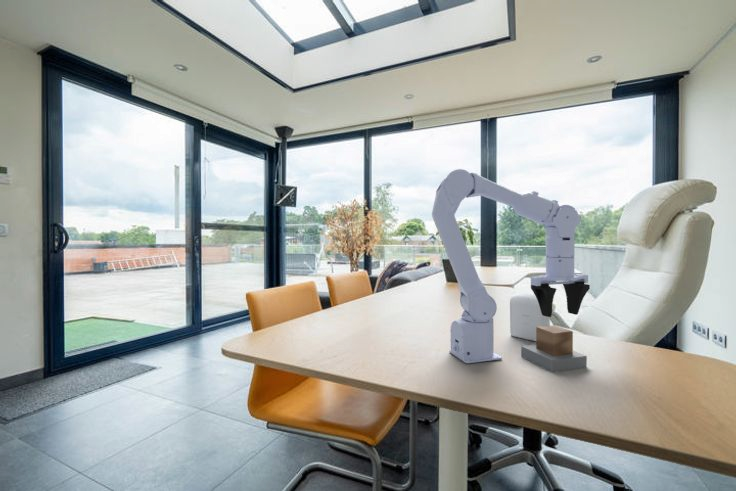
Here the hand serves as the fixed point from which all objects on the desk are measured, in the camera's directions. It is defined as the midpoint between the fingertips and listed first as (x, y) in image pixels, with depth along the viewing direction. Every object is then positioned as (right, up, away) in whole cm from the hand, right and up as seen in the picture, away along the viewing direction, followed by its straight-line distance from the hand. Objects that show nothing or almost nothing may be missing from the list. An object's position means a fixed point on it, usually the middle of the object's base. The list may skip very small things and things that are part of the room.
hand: (559, 314), depth 74 cm
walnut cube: (-3, -8, -3) cm, 9 cm away
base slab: (-3, -11, -3) cm, 11 cm away
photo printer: (0, -10, +14) cm, 17 cm away
